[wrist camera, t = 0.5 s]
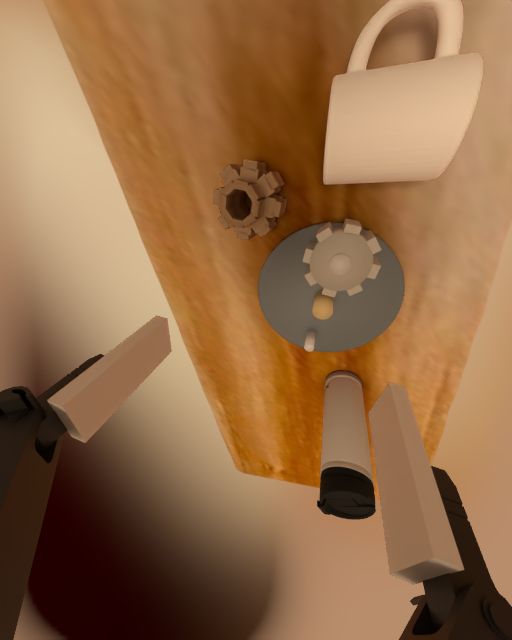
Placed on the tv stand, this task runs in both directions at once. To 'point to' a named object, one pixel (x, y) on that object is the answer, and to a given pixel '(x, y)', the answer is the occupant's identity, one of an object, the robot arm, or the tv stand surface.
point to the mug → (402, 105)
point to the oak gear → (260, 192)
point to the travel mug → (345, 451)
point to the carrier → (331, 287)
